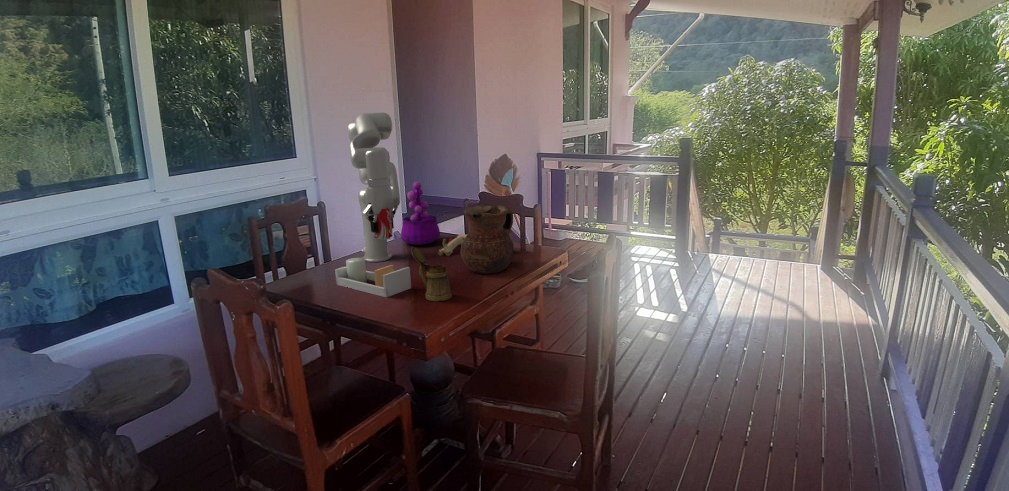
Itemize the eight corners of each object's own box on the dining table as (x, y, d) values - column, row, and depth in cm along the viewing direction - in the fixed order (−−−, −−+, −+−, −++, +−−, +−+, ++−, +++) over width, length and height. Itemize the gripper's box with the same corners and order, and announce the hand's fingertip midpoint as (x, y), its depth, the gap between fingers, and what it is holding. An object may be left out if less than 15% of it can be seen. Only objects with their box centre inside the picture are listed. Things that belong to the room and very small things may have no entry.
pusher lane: (336, 284, 223) (334, 264, 221) (361, 276, 232) (359, 257, 230) (386, 297, 207) (384, 275, 205) (411, 288, 216) (409, 267, 214)
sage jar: (344, 283, 224) (342, 261, 222) (359, 279, 230) (356, 256, 227) (356, 286, 220) (353, 263, 218) (370, 281, 225) (368, 259, 223)
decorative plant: (423, 249, 271) (418, 185, 264) (393, 245, 281) (388, 183, 274) (448, 241, 286) (444, 179, 279) (419, 237, 296) (415, 178, 289)
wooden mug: (420, 292, 211) (416, 243, 207) (455, 294, 207) (452, 244, 203) (409, 300, 203) (405, 249, 198) (446, 302, 199) (443, 251, 195)
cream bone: (454, 259, 258) (476, 241, 280) (452, 240, 255) (475, 224, 277) (434, 258, 262) (457, 240, 284) (432, 239, 259) (456, 223, 281)
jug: (495, 279, 222) (492, 214, 216) (450, 273, 233) (446, 211, 227) (524, 265, 240) (522, 204, 234) (482, 259, 251) (479, 201, 245)
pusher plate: (376, 291, 212) (374, 270, 210) (393, 285, 219) (391, 264, 217) (377, 292, 212) (375, 270, 210) (395, 285, 218) (393, 265, 216)
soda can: (389, 240, 217) (386, 208, 214) (371, 240, 218) (368, 208, 216) (395, 236, 224) (393, 205, 221) (378, 236, 225) (375, 205, 222)
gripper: (388, 179, 225) (392, 225, 229) (353, 185, 212) (357, 233, 216) (402, 180, 221) (406, 226, 225) (367, 186, 207) (371, 235, 212)
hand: (382, 230), depth 220 cm, fingers closed on soda can, 7 cm apart
